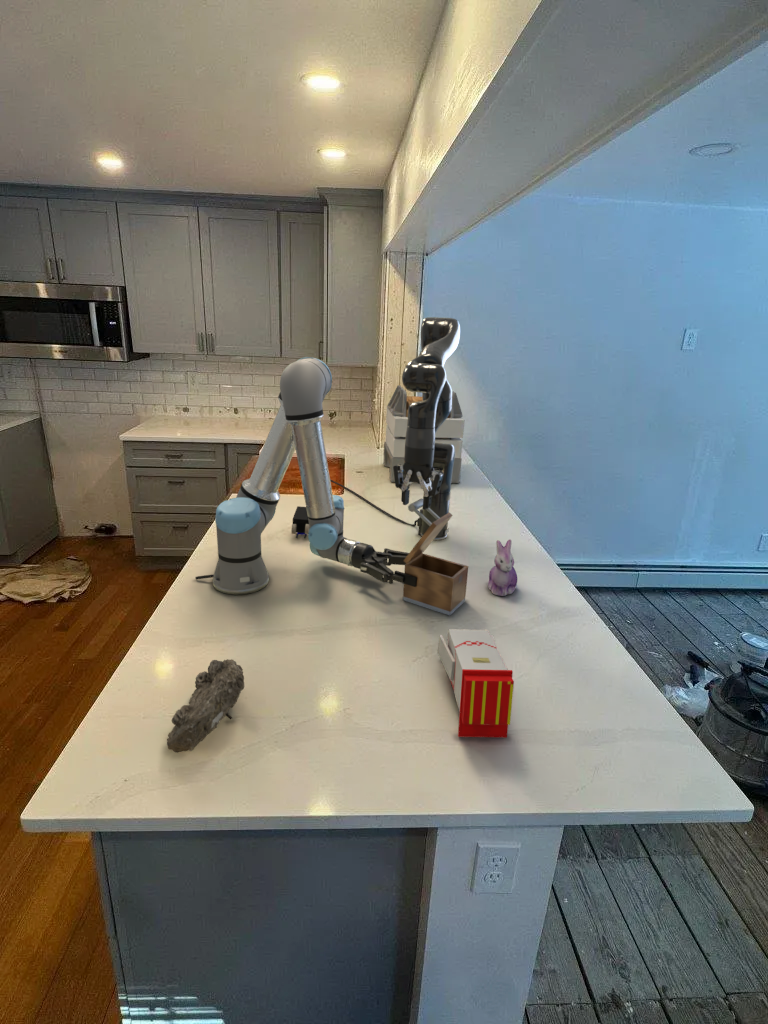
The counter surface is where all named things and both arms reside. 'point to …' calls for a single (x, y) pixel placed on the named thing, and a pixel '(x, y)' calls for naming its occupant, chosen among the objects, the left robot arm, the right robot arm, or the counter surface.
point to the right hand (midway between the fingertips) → (415, 506)
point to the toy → (478, 682)
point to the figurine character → (300, 522)
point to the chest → (436, 583)
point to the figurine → (503, 571)
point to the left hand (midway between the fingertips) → (425, 575)
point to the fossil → (206, 705)
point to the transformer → (398, 426)
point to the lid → (430, 532)
